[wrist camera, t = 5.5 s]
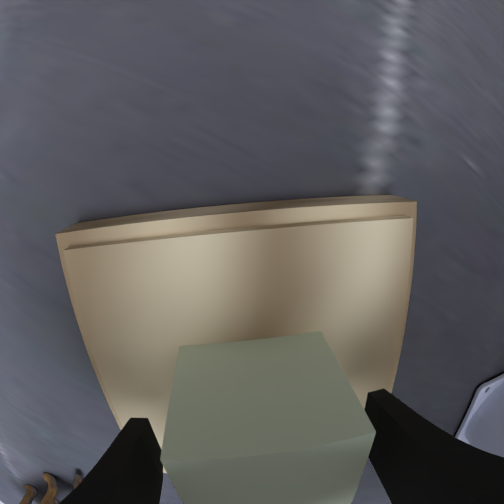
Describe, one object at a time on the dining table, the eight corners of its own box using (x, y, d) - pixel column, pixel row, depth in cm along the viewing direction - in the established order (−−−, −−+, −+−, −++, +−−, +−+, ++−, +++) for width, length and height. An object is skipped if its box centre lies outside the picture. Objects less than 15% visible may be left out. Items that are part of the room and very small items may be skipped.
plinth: (391, 194, 12) (424, 203, 10) (365, 419, 16) (380, 448, 14) (78, 222, 11) (49, 237, 9) (146, 444, 15) (140, 476, 13)
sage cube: (321, 330, 11) (376, 431, 6) (315, 423, 12) (347, 513, 7) (179, 345, 10) (160, 459, 6) (202, 436, 12) (201, 533, 7)
